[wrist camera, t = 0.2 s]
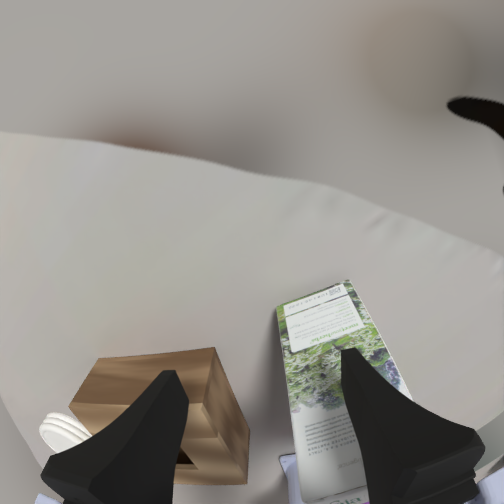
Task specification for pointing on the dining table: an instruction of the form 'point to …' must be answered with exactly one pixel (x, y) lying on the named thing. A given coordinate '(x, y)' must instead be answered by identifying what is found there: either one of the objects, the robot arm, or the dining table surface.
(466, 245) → the dining table surface
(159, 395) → the robot arm
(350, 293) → the syrup box
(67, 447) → the coaster
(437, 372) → the dining table surface
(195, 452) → the box
